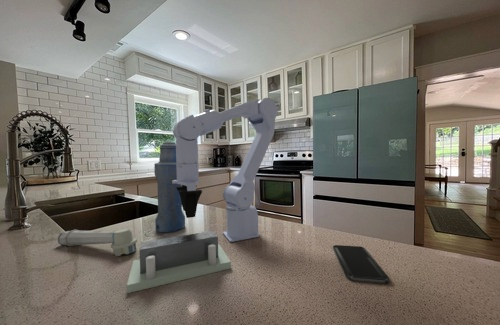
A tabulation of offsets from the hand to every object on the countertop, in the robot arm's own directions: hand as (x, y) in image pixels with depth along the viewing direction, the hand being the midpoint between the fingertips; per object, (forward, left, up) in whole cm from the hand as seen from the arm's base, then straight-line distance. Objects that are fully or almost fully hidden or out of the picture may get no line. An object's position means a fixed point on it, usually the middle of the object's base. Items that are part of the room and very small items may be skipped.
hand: (188, 213), depth 57 cm
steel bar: (+3, +10, -8) cm, 13 cm away
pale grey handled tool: (+24, -11, -10) cm, 28 cm away
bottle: (+4, -19, -10) cm, 22 cm away
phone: (-34, +25, -10) cm, 43 cm away
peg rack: (+3, +10, -9) cm, 14 cm away
